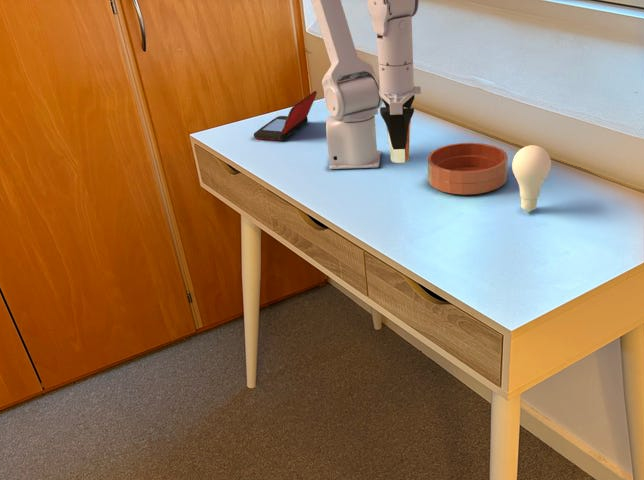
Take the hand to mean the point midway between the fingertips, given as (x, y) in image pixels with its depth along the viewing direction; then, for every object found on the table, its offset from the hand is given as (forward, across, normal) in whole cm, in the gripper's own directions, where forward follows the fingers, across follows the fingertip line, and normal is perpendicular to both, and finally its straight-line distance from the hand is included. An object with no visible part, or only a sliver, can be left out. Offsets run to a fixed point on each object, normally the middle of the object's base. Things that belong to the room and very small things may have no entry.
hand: (399, 142), depth 126 cm
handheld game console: (+8, +31, +26) cm, 41 cm away
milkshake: (+3, 0, 0) cm, 3 cm away
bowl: (+8, +1, -12) cm, 14 cm away
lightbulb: (+8, -12, -21) cm, 26 cm away
